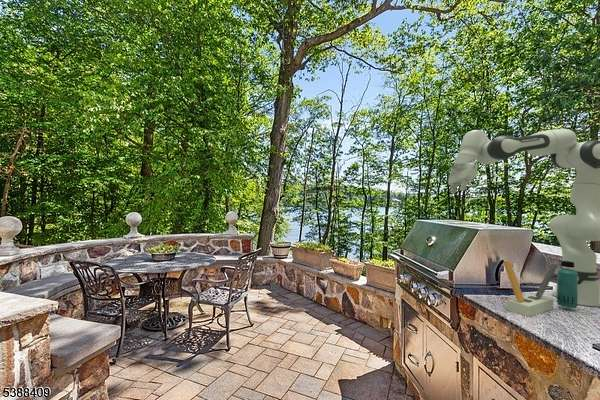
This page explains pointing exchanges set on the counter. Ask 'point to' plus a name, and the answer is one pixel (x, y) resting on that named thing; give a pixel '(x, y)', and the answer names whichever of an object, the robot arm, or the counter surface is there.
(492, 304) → the counter surface
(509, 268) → the orange bar
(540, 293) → the bar
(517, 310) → the cream base with pads
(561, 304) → the beverage bottle
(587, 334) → the counter surface
